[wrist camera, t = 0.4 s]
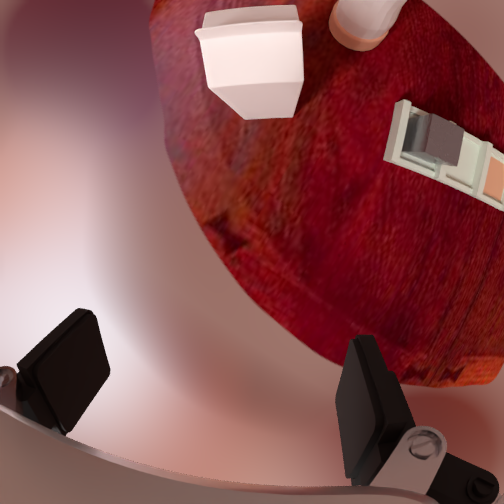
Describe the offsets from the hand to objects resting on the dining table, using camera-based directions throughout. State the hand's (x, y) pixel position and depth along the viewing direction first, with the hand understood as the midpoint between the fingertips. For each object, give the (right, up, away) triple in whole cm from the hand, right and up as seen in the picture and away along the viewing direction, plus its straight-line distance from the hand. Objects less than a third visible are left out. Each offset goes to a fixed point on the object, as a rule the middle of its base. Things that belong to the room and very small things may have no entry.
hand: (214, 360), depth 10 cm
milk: (+3, +23, +23) cm, 33 cm away
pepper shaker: (+15, +33, +19) cm, 41 cm away
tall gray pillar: (+23, +18, +22) cm, 36 cm away
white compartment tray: (+29, +16, +23) cm, 41 cm away
